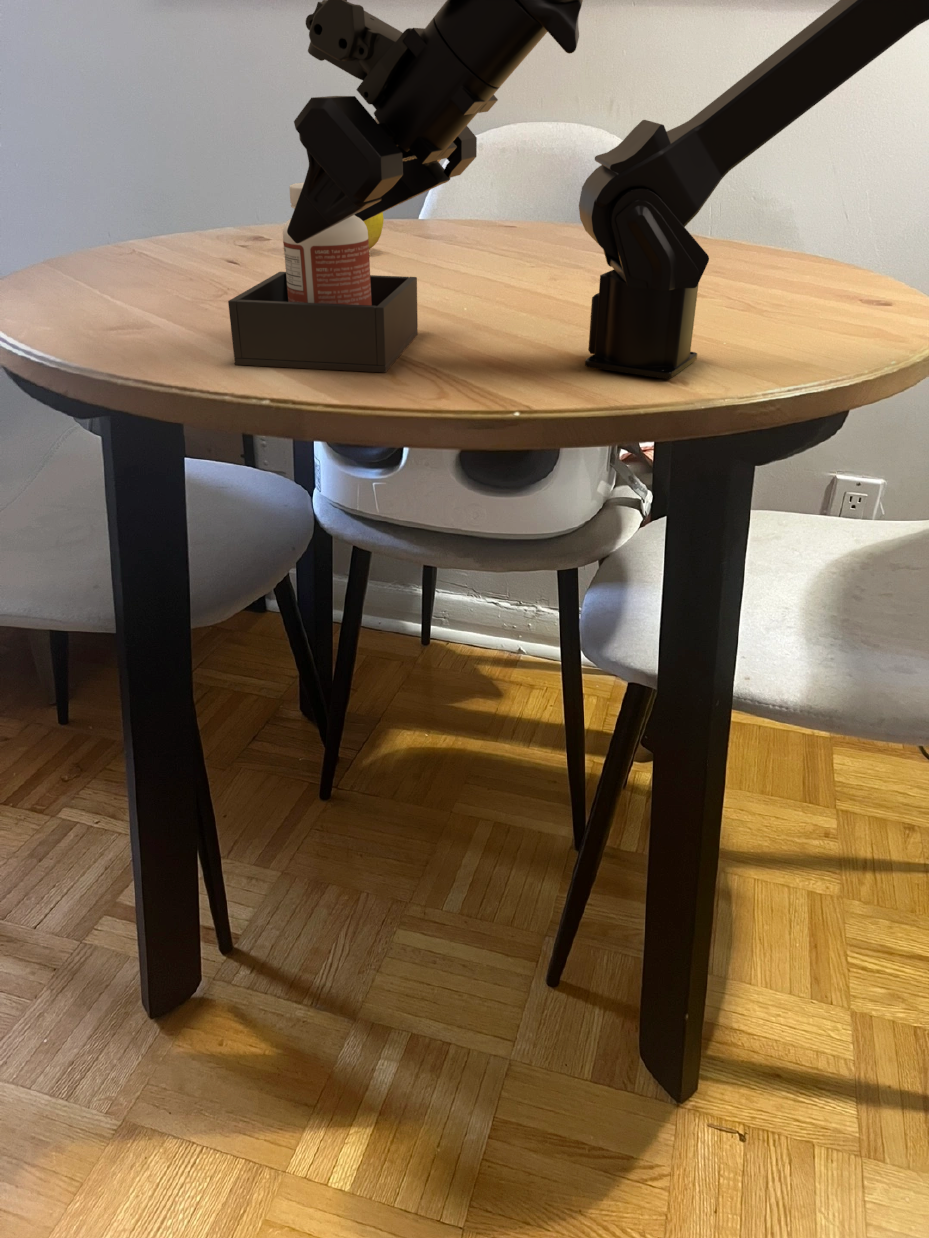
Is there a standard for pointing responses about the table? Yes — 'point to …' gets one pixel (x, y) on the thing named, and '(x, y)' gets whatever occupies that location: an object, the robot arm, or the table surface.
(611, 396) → the table surface
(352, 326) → the black open box
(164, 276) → the table surface
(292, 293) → the pill bottle
